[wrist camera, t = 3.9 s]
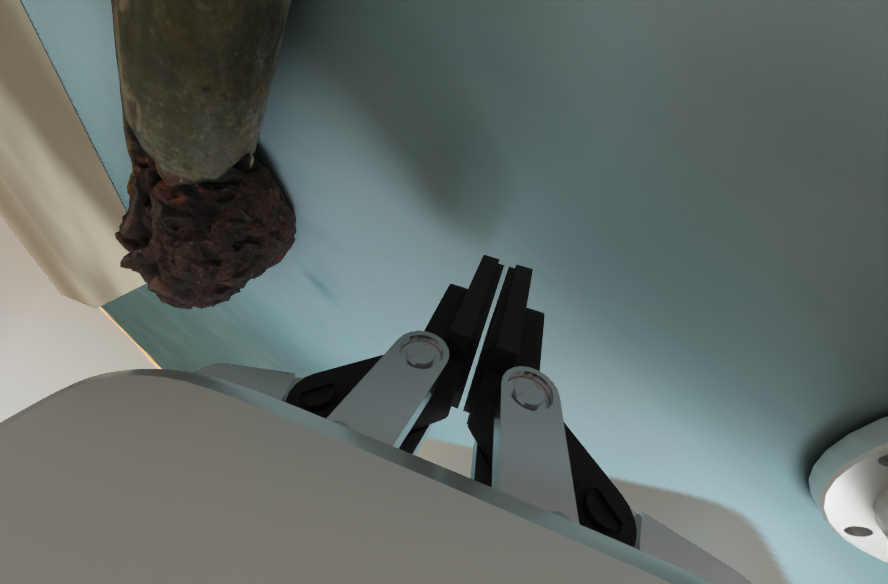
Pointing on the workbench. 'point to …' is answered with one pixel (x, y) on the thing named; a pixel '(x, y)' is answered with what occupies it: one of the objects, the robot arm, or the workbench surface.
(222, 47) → the brown long lumpy piece
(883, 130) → the workbench surface
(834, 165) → the workbench surface
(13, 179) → the bar
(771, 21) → the workbench surface
